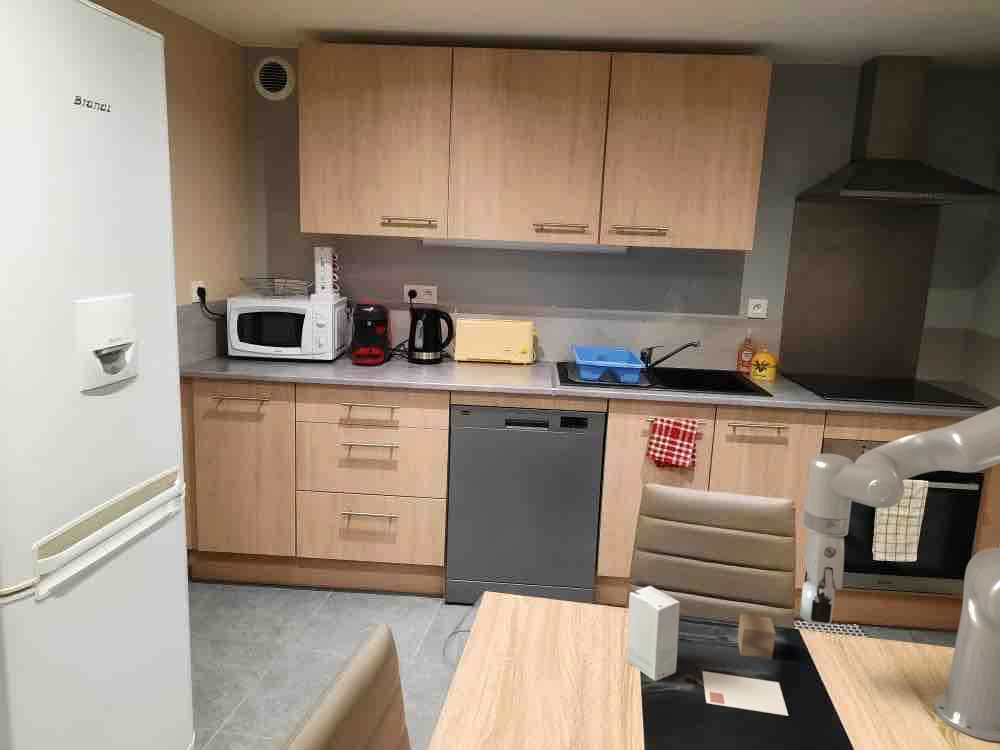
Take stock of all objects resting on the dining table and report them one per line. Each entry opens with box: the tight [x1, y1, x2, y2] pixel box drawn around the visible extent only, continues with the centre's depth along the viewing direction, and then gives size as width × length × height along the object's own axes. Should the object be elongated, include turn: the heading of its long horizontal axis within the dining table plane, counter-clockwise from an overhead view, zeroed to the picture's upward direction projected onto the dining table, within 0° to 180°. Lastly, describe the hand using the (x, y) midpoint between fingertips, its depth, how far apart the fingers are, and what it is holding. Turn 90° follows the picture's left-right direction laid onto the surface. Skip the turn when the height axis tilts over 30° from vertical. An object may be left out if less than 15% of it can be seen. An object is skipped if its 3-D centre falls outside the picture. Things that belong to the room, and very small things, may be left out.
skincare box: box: [625, 585, 681, 682], centre depth 144 cm, size 8×6×15 cm
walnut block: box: [737, 613, 776, 660], centre depth 152 cm, size 6×6×6 cm
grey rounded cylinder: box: [799, 580, 836, 626], centre depth 140 cm, size 6×6×6 cm
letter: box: [701, 670, 789, 717], centre depth 138 cm, size 14×10×1 cm
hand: (816, 612), depth 141 cm, fingers closed on grey rounded cylinder, 5 cm apart
